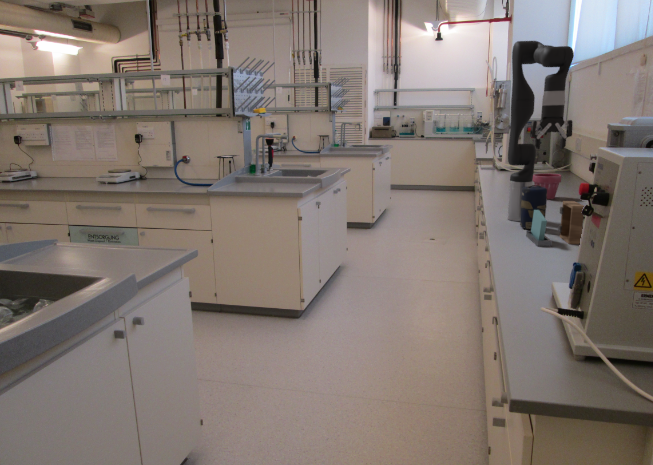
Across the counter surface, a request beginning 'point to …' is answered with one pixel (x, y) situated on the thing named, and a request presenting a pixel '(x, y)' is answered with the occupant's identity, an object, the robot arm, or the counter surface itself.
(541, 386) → the counter surface
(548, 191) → the plant pot
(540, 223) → the door panel
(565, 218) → the cabinet
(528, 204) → the canister
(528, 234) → the grey rectangular frame
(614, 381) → the counter surface
